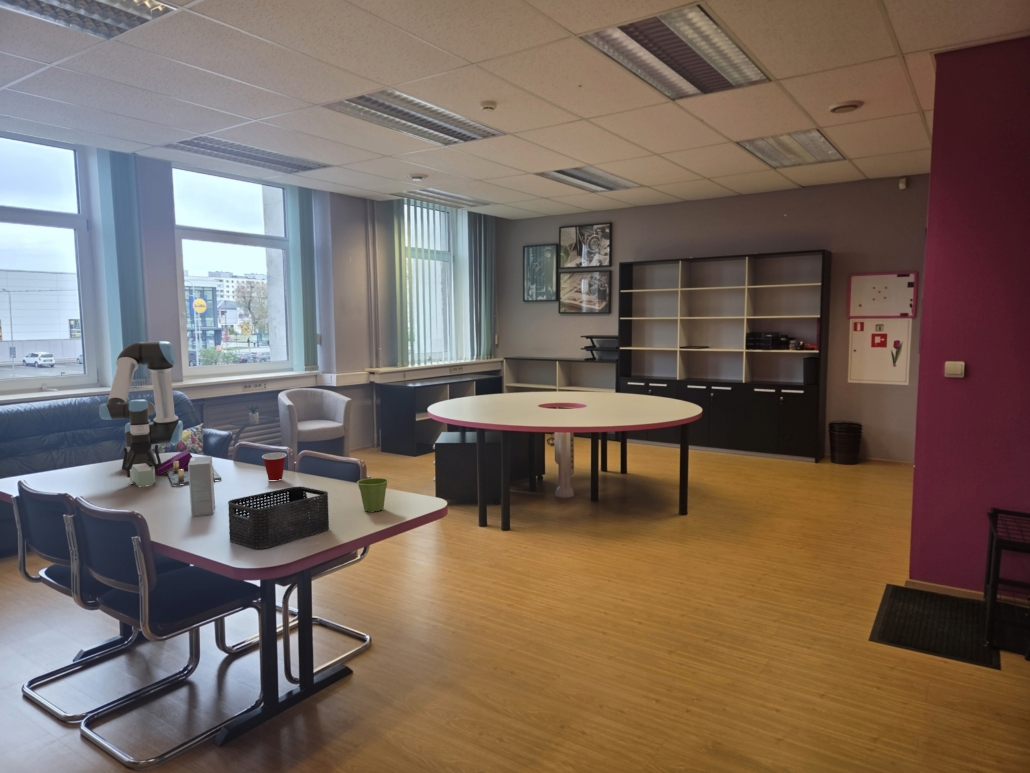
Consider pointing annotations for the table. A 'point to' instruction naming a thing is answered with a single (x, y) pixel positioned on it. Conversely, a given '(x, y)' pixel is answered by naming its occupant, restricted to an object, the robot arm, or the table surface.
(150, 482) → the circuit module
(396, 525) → the table surface
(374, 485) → the plant pot
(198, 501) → the hard drive box
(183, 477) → the chassis plate
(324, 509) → the storage bin
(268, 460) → the plastic cup
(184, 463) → the mounting bracket
